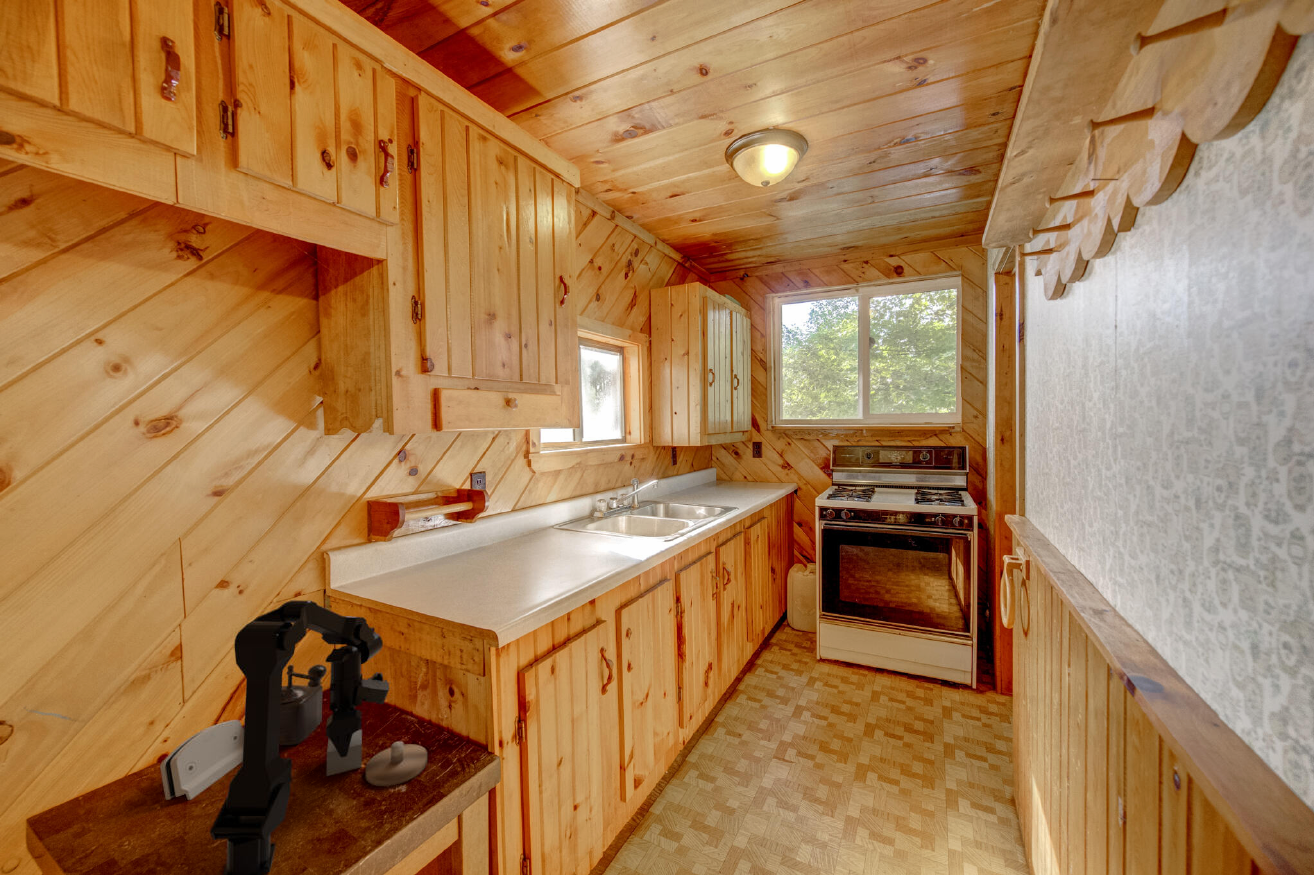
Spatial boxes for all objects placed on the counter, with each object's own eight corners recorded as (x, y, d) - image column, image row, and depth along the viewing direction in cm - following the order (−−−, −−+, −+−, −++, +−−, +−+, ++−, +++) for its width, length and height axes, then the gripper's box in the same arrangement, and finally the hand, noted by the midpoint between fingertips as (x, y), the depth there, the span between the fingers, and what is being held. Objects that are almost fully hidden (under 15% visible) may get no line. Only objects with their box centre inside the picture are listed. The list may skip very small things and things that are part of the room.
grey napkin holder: (188, 801, 101) (172, 752, 101) (167, 808, 101) (151, 760, 101) (258, 749, 118) (244, 708, 118) (239, 755, 118) (226, 714, 118)
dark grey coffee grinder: (248, 749, 118) (249, 671, 118) (279, 722, 129) (280, 651, 129) (319, 746, 119) (321, 669, 119) (344, 720, 130) (345, 649, 130)
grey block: (361, 767, 112) (361, 744, 112) (326, 776, 109) (326, 752, 109) (361, 751, 118) (361, 729, 118) (328, 759, 114) (328, 737, 114)
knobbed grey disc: (429, 775, 110) (430, 751, 110) (365, 793, 104) (365, 768, 104) (424, 745, 120) (424, 724, 120) (365, 760, 114) (365, 738, 114)
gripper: (388, 684, 109) (387, 757, 109) (385, 651, 125) (384, 715, 125) (326, 696, 104) (325, 774, 104) (331, 661, 120) (330, 728, 120)
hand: (344, 745), depth 113 cm, fingers open, 9 cm apart
